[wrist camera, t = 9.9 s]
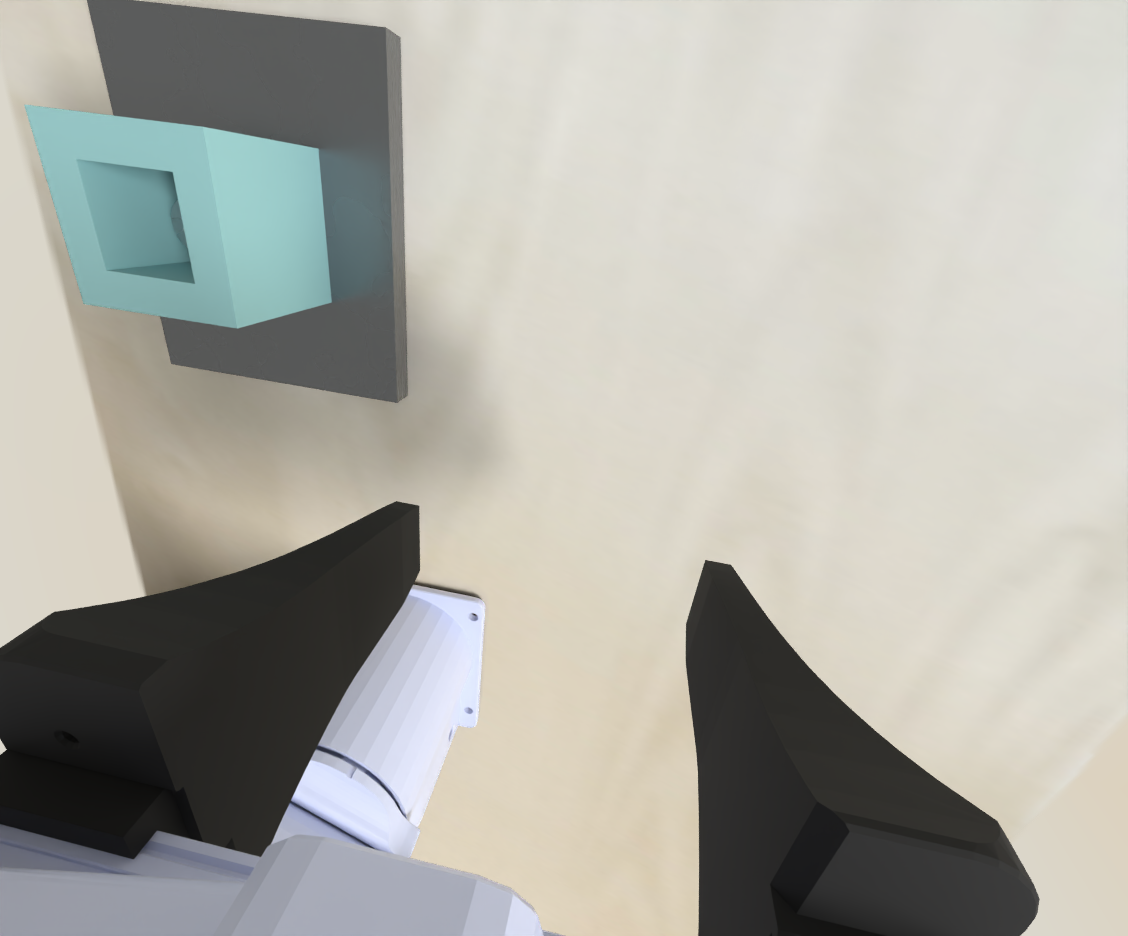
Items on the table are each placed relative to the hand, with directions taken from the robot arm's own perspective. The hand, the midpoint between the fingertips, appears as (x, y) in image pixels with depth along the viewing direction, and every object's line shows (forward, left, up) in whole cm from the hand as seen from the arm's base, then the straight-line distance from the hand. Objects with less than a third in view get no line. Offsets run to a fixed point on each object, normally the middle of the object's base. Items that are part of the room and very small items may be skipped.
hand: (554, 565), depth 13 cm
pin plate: (+6, +13, -9) cm, 17 cm away
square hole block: (+6, +13, -8) cm, 17 cm away
